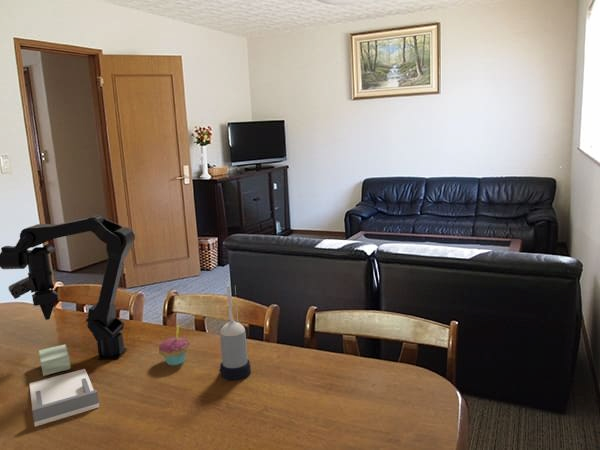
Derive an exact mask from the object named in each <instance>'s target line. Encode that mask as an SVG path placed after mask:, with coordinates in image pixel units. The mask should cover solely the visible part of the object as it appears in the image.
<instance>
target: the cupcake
mask: <svg viewBox="0 0 600 450" xmlns="http://www.w3.org/2000/svg"><path fill="white" fill-rule="evenodd" d="M179 324H180V322H177V324H176V330H175V331H176V333H175V336H174V337H169V338H166V339H164V340H163V341H162V342H161V343H160V344H159V346H158V354H160V355H161V356H163V357H164V359H165V361H166V364H168V365H169V366H178V365H182V364H183V363H184V361H185V358H186V354H187V352H188V351H189V349H190V345H191V343H190V342H189V341H188V340H187V339H185V338H183V337H182V336H179V331H180V325H179Z"/></svg>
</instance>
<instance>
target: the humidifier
mask: <svg viewBox="0 0 600 450" xmlns="http://www.w3.org/2000/svg"><path fill="white" fill-rule="evenodd" d="M234 290H235V291H234V292H235V294H237V292H236V290H237V289H236V286H234ZM226 291H227V301H228V308H227V309H228V310H227V311H228V312H227V313H228V318H229V321H228V322H227V323H225V324H224V325H223V326H222V327H221V329H220V332H219V336H220V337H219V338H220V350H221V363H220V367H219V370H218V371H219V373H220V377H221V379H222V380H225V381H228V382H236V381H241V380H244V379H247V378H249V376H250V375H251V373H252V372H251V371H252V367H251V362H250V360H249V359H248V350H247V349H248V347H247V336H246V335H247V334H246V329H245V327H244V326H243V325H242V323H240V322H239V321H238V319H239V315H238V312H236V316H237V318H236V321H235V319H234V316H233V301H232V295H231V286H230V284H227V285H226ZM235 300H237V297H235ZM235 302H236V304H237V306H236V309H239V308H238V306H239V304H238V302H237V301H235Z"/></svg>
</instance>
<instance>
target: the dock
mask: <svg viewBox="0 0 600 450" xmlns="http://www.w3.org/2000/svg"><path fill="white" fill-rule="evenodd" d="M28 384H29V393H30V399H31V412H32V417H33V425H34V427H38V426H41V425H45V424H48V423H51V422H55V421H58V420H62V419H65V418H69V417H71V416H75V415H78V414H81V413H85V412H87V411H91V410H94V409H99V408H100V401H99V393H98V391H97V389H94V386H93V384H92V382H91V380H90V377H89V375H88V372H87V371H86V368H83V369H79V370H75V371H72V372H71V371H70V372H68V373H64V374H60V375H56V376H52V377H49V378H44V379H41V380H38V381H37V380H36V381H33V382H30V383H28Z"/></svg>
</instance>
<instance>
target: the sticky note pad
mask: <svg viewBox="0 0 600 450" xmlns="http://www.w3.org/2000/svg"><path fill="white" fill-rule="evenodd" d="M68 351H69V350H68V348H67V345H66V344H61V345H56V346H52V347H48V348H44V349H39V350H38V353H39V354H38V355H39V359H40V360H39V361H40V366H41V367H40V368H41V371H42V376H44V377H49V376H50V375H51V374H56V373H60V372H63V371H65V372H69V371H70V369H71V362H70V360H71V359H70V354H69V352H68Z"/></svg>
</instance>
